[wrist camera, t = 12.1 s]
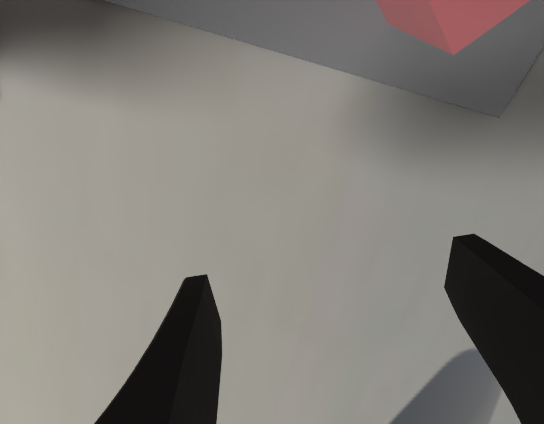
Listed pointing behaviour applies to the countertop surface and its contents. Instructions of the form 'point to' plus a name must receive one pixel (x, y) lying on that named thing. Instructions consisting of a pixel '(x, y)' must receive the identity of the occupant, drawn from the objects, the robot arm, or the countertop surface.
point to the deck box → (447, 19)
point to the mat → (374, 44)
